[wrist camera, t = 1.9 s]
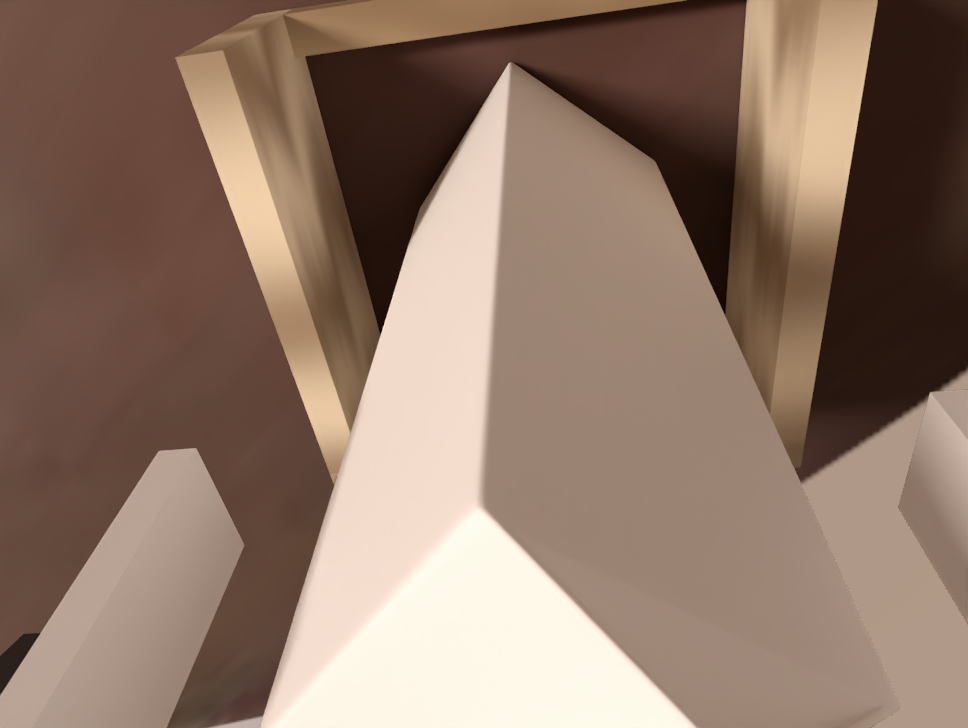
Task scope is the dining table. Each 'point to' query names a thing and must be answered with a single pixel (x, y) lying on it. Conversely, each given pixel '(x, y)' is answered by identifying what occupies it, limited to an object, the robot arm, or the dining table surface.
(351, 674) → the milk
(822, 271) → the shelf bay
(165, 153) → the dining table surface
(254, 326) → the dining table surface
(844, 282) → the dining table surface
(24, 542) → the dining table surface
